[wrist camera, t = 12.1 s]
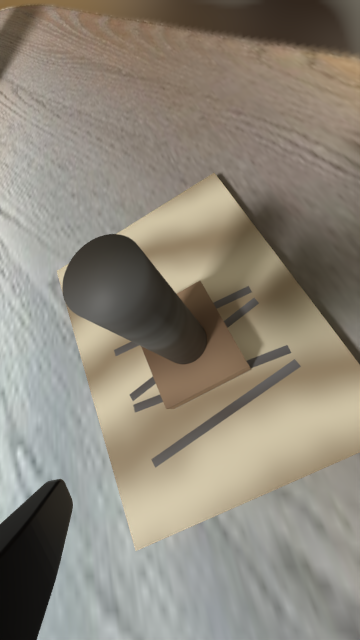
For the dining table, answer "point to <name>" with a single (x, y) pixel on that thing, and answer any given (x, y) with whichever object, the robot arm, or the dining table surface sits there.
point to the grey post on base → (154, 318)
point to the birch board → (232, 397)
